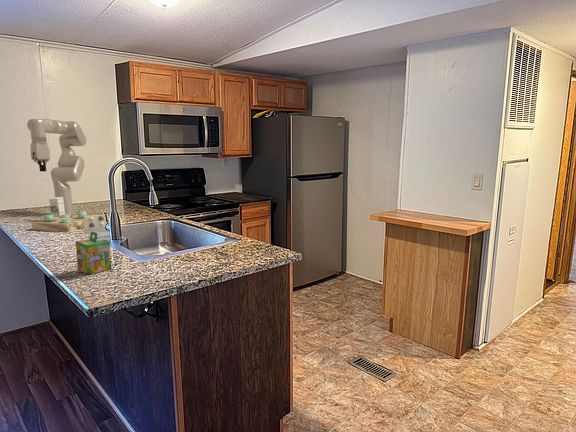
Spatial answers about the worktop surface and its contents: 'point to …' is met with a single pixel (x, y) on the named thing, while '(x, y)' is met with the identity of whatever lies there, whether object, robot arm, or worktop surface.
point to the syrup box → (57, 206)
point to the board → (59, 224)
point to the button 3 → (81, 215)
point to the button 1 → (48, 218)
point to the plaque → (95, 221)
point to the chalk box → (93, 255)
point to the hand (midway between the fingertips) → (43, 171)
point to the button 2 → (66, 221)
